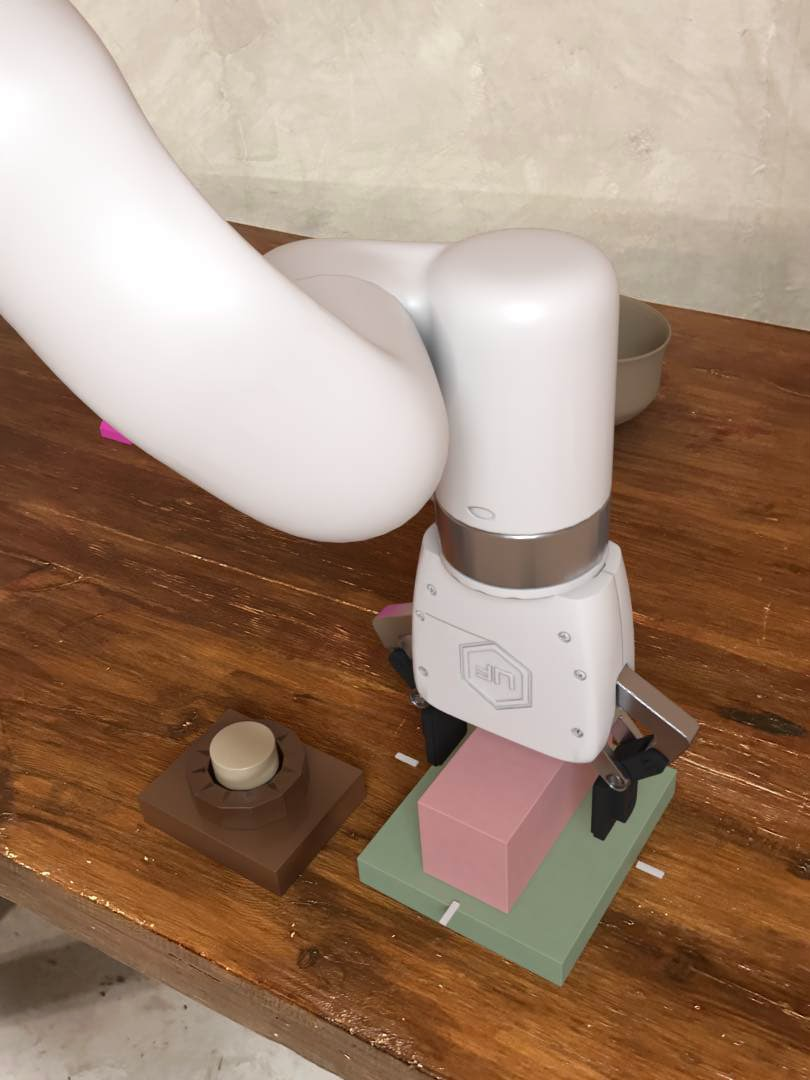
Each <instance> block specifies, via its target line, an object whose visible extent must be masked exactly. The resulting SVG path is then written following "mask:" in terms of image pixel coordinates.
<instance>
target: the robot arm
mask: <svg viewBox="0 0 810 1080" xmlns="http://www.w3.org/2000/svg"><path fill="white" fill-rule="evenodd" d="M619 294H620V282H619V277H618V274H617V271H616V269H615V265H614V264H613V262H612V260H610V258H609V256H608V255H607V254H606V253H605V251H604V250H603V249H602V248H601V247H599V246H598V245H597V244H595V243H593V242H592V241H590V240H589V239H586V238H584V237H583V236H580V235H578V234H576V233H575V234H574V233H572V232H568V231H564V230H559V229H554V228H553V229H552V228H545V227H543V228H542V227H512V228H502V229H495V230H490V231H485V232H481V233H477V234H474V235H471V236H468V237H465V238H462V239H460V240H458V241H412V240H410V241H409V240H389V239H388V240H386V239H375V238H374V239H371V238H358V237H357V238H356V237H317V238H316V237H315V238H306V239H301V240H295V241H292V242H288V243H285V244H282V245H279V246H277V247H275V248H272V249H271V250H269V251H267V252H266V253H264V254H261V253H260V252H259V251H258V250H257V249H256V248H255V247H254V246H252V245H251V244H250V243H249V242H248V241H247V240H246V239H245V238H244V237H243V236H242V235H241V234H240V233H239V232H238V231H237V230H236V229H235V228H234V227H233V226H232V225H231V224H230V223H229V222H228V221H227V220H226V219H225V218H224V217H223V216H222V215H221V213H219V211H218V210H216V208H215V207H214V206H213V205H212V204H211V202H210V201H209V200H208V199H207V198H206V197H205V196H204V195H203V194H202V193H201V191H200V190H199V189H198V188H197V187H196V185H195V184H194V183H193V182H192V180H191V179H190V178H189V177H188V175H187V174H186V173H185V172H184V171H183V169H182V168H181V167H180V166H179V164H178V162H176V160H175V159H174V157H173V156H172V154H171V153H170V152H169V150H168V149H167V148H166V146H165V145H164V143H163V142H162V141H161V139H160V138H159V135H158V134H157V133H156V131H155V130H154V128H153V126H152V125H151V123H150V122H149V120H148V118H147V117H146V115H145V113H144V111H143V110H142V108H141V105H140V104H139V102H138V100H137V99H136V97H135V95H134V93H133V91H132V89H131V87H130V85H129V84H128V82H127V80H126V79H125V76H124V75H123V72H122V70H121V69H120V67H119V65H118V63H117V62H116V60H115V59H114V57H113V55H112V54H111V52H110V50H109V49H108V48H107V46H106V44H105V43H104V42H103V40H102V38H101V37H100V36H99V34H98V33H97V32H96V31H95V29H94V27H92V26H91V24H90V23H89V21H88V20H87V18H85V17H84V16H83V14H82V13H81V12H80V11H79V9H78V8H77V7H76V6H75V5H74V4H73V3H72V2H71V1H70V0H0V316H1V317H2V319H4V321H5V322H7V323H8V324H9V325H10V326H11V328H12V329H14V330H15V332H16V333H17V334H18V335H19V336H20V337H21V339H22V340H23V341H24V342H25V343H26V344H27V345H28V347H30V349H31V350H32V351H33V352H34V354H36V355H37V356H38V358H39V359H41V361H42V362H43V363H44V364H45V365H46V366H47V367H48V368H49V370H50V371H51V372H52V373H53V374H54V375H55V376H56V377H57V378H58V379H59V380H60V381H61V382H62V383H63V384H64V385H65V386H66V387H67V389H69V390H70V391H71V392H72V393H73V394H74V395H75V396H76V397H77V398H78V399H79V400H80V401H81V402H83V403H84V404H85V405H86V406H87V407H88V408H89V409H90V410H92V411H93V413H95V415H97V417H98V418H100V419H102V420H104V421H105V422H106V423H108V424H109V425H110V426H111V427H113V428H114V429H115V430H116V431H118V432H119V433H120V434H121V435H123V436H124V437H125V438H127V439H128V440H129V441H131V442H132V443H133V445H134V446H136V447H138V448H139V449H140V450H142V451H144V452H145V453H146V454H147V455H149V456H150V457H152V458H154V459H156V460H157V461H159V462H160V463H161V464H163V465H165V466H166V467H168V468H169V469H171V470H172V471H174V472H176V473H177V474H178V475H180V476H182V478H183V477H184V478H185V479H187V480H188V481H190V482H191V483H192V484H195V485H196V486H198V487H199V488H201V489H203V490H204V491H205V492H207V493H209V494H210V495H212V496H213V497H215V498H217V499H218V500H220V501H221V502H223V503H225V504H227V505H228V506H230V507H231V508H233V509H235V510H236V511H239V512H240V513H242V514H244V515H246V516H248V517H250V518H252V519H254V520H255V521H258V522H259V523H261V524H263V525H265V526H268V527H269V528H272V529H275V530H278V531H281V532H282V533H283V532H284V533H286V534H288V535H291V536H294V537H297V538H301V539H307V540H311V541H316V542H322V543H335V544H336V543H337V544H345V543H353V542H363V541H367V540H370V539H373V538H376V537H380V536H383V535H386V534H388V533H390V532H391V531H394V530H396V529H398V528H400V527H402V526H403V525H404V524H406V523H407V522H408V521H410V520H411V519H412V518H413V517H415V516H416V515H417V514H418V513H419V512H420V511H421V510H422V509H423V507H424V506H425V505H426V503H428V501H431V502H432V503H433V507H434V522H433V523H432V524H431V525H430V526H428V528H426V530H425V532H424V534H423V536H422V541H421V544H420V550H419V555H418V561H417V566H416V571H415V572H416V573H415V580H414V586H413V596H412V598H413V599H412V601H411V602H404V603H403V602H401V603H391V604H387V605H384V607H383V608H382V609H381V610H380V611H379V612H378V613H377V614H376V615H375V616H374V617H373V618H372V620H371V626H372V628H373V629H374V632H375V633H376V635H377V637H378V638H379V640H380V642H381V644H382V646H383V647H384V649H385V650H388V653H389V655H388V658H387V660H388V662H389V665H390V667H392V669H394V670H395V672H396V673H397V674H398V676H400V678H401V679H402V680H403V681H404V682H405V683H406V685H407V686H408V687H409V688H410V691H409V693H408V699H409V701H410V702H411V704H412V705H413V706H414V707H416V708H418V709H420V718H421V728H422V736H423V737H424V742H425V755H426V762H427V764H428V765H431V766H432V765H433V766H435V767H437V766H441V765H442V764H443V763H444V762H445V761H446V759H447V758H448V757H449V756H450V754H451V753H452V752H453V751H454V749H455V748H456V747H457V746H458V744H459V743H460V742H461V741H462V739H463V738H464V737H465V735H466V733H467V722H468V723H470V724H473V725H475V726H477V727H480V728H482V729H484V730H487V731H489V732H491V733H494V734H496V735H499V736H501V737H503V738H506V739H508V740H511V741H513V742H516V743H518V744H521V745H523V746H526V747H528V748H531V749H533V750H535V751H538V752H540V753H543V754H546V755H548V756H551V757H554V758H557V759H560V760H563V761H567V762H572V763H589V762H591V764H592V765H593V766H594V768H595V769H596V770H597V772H598V773H599V776H598V777H597V779H596V780H595V782H594V784H593V788H592V811H591V833H593V837H595V838H597V839H600V840H602V841H604V840H605V839H606V837H607V836H608V834H609V832H610V831H611V829H612V827H613V826H614V824H615V823H616V821H620V822H622V823H626V822H627V820H628V819H629V817H630V815H631V814H632V812H633V810H634V807H635V804H636V800H637V789H638V780H641V779H645V778H648V777H651V776H655V775H658V774H661V773H663V771H664V769H665V768H666V767H667V766H669V765H671V763H674V762H675V761H676V760H677V759H678V758H679V757H681V756H682V755H683V754H684V753H685V752H686V751H687V750H689V749H690V747H691V745H692V743H693V742H694V740H695V739H696V736H697V735H698V734H699V732H700V730H701V725H700V723H699V722H698V720H696V718H694V717H693V716H692V715H690V714H689V713H688V712H687V711H685V710H684V709H683V708H681V707H680V706H679V705H678V704H677V703H675V702H674V701H673V700H671V699H670V698H669V697H667V696H666V695H665V694H664V693H663V692H661V691H660V690H659V689H657V687H655V686H653V685H652V684H651V683H650V682H649V681H647V679H645V678H643V676H641V675H640V674H639V673H637V672H636V670H635V668H636V667H635V659H636V658H635V629H634V615H633V614H634V613H633V607H632V597H631V591H630V590H631V589H630V585H629V579H628V576H627V575H628V574H627V570H626V564H625V561H624V557H623V553H622V549H621V546H620V545H619V544H617V543H615V542H614V541H612V540H610V532H611V531H610V530H611V529H610V528H611V510H612V509H611V508H612V485H613V466H614V465H613V462H614V442H615V441H614V439H615V427H614V421H615V399H616V376H617V354H618V331H619V308H620V300H619ZM631 717H632V718H633V719H634V720H635V721H637V723H639V724H640V725H642V726H643V727H644V728H645V729H647V730H648V731H649V732H650V733H651V734H648V735H646V736H644V735H643V733H642V731H641V730H640V729H639V727H638V726H637V725H636V723H635V722H634V721H633V719H632V718H631ZM610 733H611V734H612V735H613V738H614V740H615V741H616V742H617V744H618V745H617V747H616V748H615V750H614V751H613V750H612V749H611V747H610V746H609V745H608V743H607V740H608V737H609V734H610Z"/></svg>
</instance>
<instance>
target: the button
mask: <svg viewBox="0 0 810 1080" xmlns="http://www.w3.org/2000/svg"><path fill="white" fill-rule="evenodd" d="M210 757H211V761H212V765H213V769H214V773H215V777H216V779H217V780H218V781H219V783H220V784H222V785H223V786H224V787H226V788H228V789H231V790H236V791H247V790H252V789H255V788H258V787H260V786H262V785H264V784H266V783H267V782H268V781H269V780H270V779H272V777H273V776H274V775H275V773H276V771H277V769H278V766H279V757H278V752H277V747H276V741H275V737H274V734H273V733H272V731H271V730H270V729H269V728H268V727H267V726H265V725H263V724H261V723H258V722H252V721H243V722H237V723H234V724H231V725H229V726H227V727H225V728H223V729H222V730H220V731H219V732H218V733H217V734H216V735H215V737H214V738H213V740H212V742H211V744H210Z"/></svg>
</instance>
